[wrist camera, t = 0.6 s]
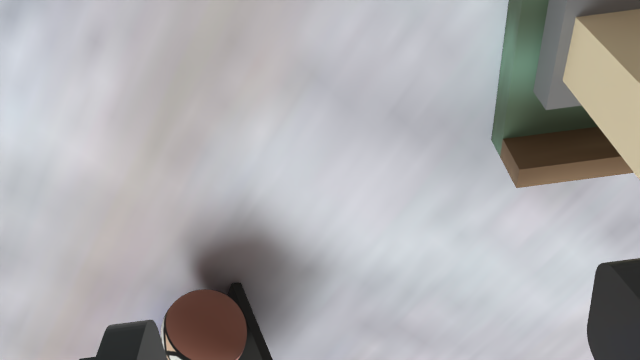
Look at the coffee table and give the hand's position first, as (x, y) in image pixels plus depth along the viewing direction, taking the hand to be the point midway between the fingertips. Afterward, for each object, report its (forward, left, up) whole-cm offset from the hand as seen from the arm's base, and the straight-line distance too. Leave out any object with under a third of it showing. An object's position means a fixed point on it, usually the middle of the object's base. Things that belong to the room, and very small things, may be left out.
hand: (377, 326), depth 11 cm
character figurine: (+25, -10, -19) cm, 33 cm away
